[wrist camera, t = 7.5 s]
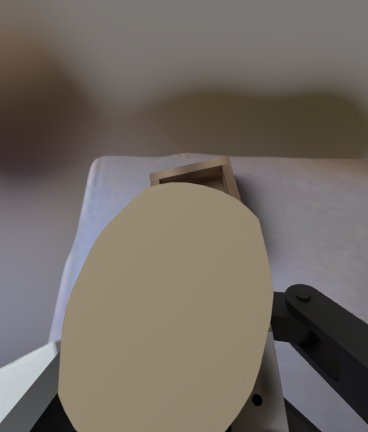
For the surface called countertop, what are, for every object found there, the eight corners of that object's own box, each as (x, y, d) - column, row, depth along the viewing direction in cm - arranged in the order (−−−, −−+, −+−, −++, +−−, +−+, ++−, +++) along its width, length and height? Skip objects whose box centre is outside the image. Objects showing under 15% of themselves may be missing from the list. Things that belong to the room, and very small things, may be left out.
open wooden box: (226, 173, 36) (228, 155, 31) (245, 242, 32) (250, 233, 27) (158, 188, 37) (149, 173, 32) (168, 257, 33) (160, 251, 28)
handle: (242, 268, 20) (295, 208, 6) (221, 346, 18) (223, 531, 4) (190, 251, 21) (128, 167, 7) (166, 323, 19) (19, 404, 5)
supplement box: (80, 406, 28) (-17, 488, 17) (66, 345, 31) (-27, 378, 19) (133, 379, 29) (74, 441, 17) (114, 321, 31) (52, 339, 19)
